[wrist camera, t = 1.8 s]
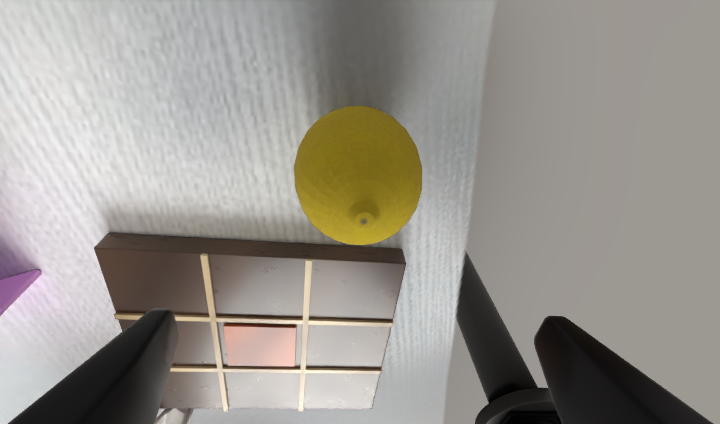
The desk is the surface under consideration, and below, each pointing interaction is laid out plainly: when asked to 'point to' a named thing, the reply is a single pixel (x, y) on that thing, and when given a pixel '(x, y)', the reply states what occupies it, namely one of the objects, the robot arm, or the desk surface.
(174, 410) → the tablet stand
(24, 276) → the toy chair
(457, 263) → the desk surface
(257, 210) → the desk surface
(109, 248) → the board
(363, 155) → the lemon
